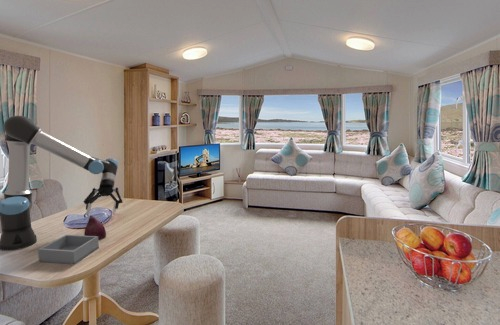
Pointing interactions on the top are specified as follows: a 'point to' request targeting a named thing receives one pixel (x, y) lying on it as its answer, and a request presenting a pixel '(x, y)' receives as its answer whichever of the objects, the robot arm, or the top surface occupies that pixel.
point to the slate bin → (68, 249)
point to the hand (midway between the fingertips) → (100, 214)
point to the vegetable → (95, 228)
